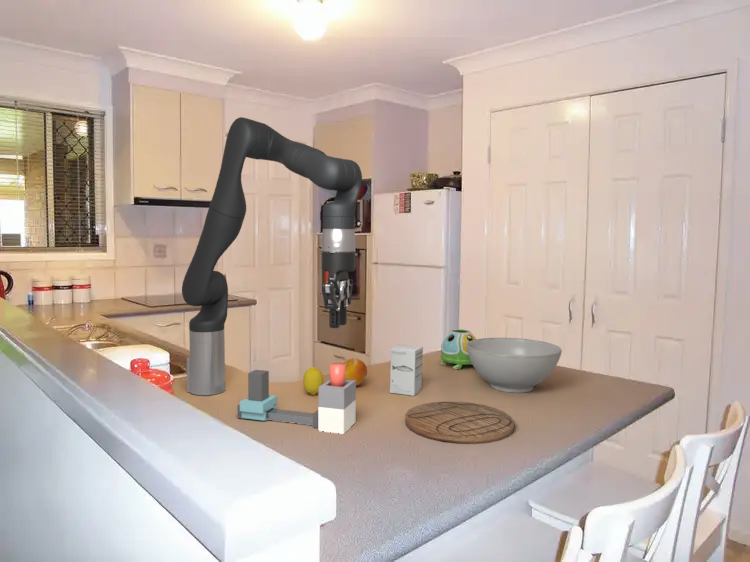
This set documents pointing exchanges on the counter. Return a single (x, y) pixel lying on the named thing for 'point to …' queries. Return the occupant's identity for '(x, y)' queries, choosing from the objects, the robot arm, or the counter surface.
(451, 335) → the turtle holder
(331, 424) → the grey and white block
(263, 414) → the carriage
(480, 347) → the decorative bowl
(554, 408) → the counter surface
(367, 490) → the counter surface
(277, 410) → the rail
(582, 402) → the counter surface
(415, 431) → the trivet
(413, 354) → the supplement box
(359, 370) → the fruit
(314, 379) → the lemon
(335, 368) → the button
